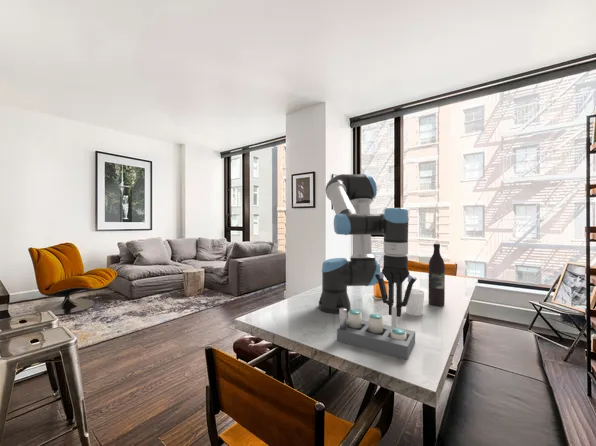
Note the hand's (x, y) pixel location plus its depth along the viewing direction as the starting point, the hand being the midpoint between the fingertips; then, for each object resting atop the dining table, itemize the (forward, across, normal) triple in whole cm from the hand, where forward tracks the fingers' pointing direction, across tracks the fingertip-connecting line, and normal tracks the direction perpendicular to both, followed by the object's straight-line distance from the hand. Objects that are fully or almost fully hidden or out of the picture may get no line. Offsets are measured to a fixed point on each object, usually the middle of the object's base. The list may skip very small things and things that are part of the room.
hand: (394, 325), depth 88 cm
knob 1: (+3, -14, 0) cm, 14 cm away
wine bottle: (+8, +7, +55) cm, 56 cm away
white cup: (+8, 0, +36) cm, 37 cm away
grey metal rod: (+3, -16, -5) cm, 17 cm away
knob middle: (+3, -6, 0) cm, 7 cm away
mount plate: (+7, -6, 0) cm, 9 cm away
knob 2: (+6, +1, -1) cm, 7 cm away
